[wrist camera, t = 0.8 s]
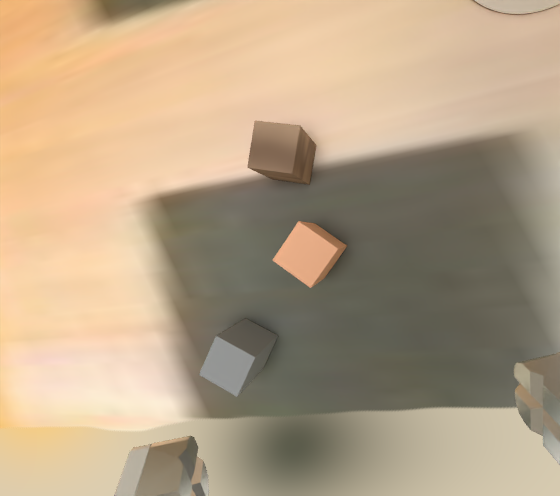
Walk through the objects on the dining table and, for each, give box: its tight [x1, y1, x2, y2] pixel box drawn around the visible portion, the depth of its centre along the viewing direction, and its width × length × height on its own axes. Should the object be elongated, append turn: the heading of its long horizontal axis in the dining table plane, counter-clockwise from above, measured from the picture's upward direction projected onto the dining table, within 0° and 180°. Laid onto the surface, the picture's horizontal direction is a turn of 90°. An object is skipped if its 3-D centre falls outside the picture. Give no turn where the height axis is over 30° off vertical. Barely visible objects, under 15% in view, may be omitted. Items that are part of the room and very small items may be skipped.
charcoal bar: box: [199, 318, 278, 397], centre depth 46 cm, size 4×4×9 cm
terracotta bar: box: [273, 221, 347, 288], centre depth 44 cm, size 4×4×9 cm
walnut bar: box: [247, 121, 316, 184], centre depth 44 cm, size 4×4×9 cm
